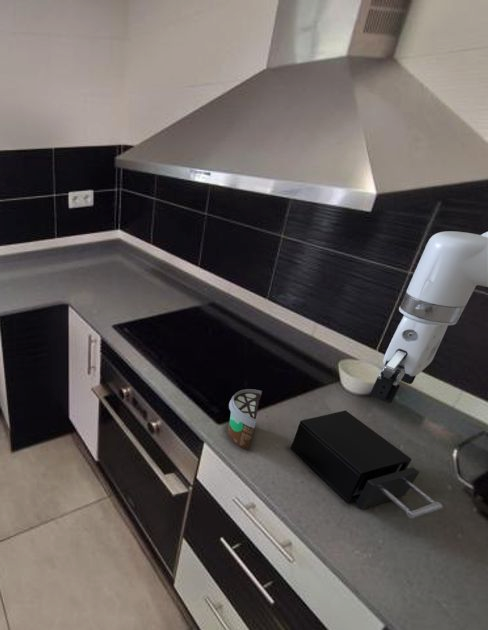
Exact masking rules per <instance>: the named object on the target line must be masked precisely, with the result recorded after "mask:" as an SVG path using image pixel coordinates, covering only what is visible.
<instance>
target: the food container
mask: <svg viewBox="0 0 488 630" xmlns="http://www.w3.org/2000/svg"><path fill="white" fill-rule="evenodd" d="M262 393H263V391H262V390H259V389H252V388H251V389H250V388H246V389H241V390H239V391H237V392H235V394H234V395H232V397H231V398H230V400H229V403H228V409H229V411H230V417H229V422H228V429H227V435H228V436H229V439H230V440H231V441H232V442H233V443H234V444H235V445H236V446H237V447H239V448H241V449H243V450H246V451H248V450H249V446H250V443H251V440H252V437H253V433H254V430H255V427H256V423H257V415H258V410H259V409H258V408H259V403H260V399H261V397H262Z"/></svg>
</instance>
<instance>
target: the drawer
mask: <svg viewBox="0 0 488 630" xmlns="http://www.w3.org/2000/svg"><path fill="white" fill-rule="evenodd" d="M401 466H402V464H401V465H397V466H394V467H390V468H387V469H383V470H380V471H376V472H372V473H369V474H365V475H363V477H362V479H361V481H360V483H359V485H358V487H357V489H356V490H355V492H354V494H353V496H355V495H359V494H360V496H359V498H358V500H356V501H355V505H356V506H357V508H359V509H360V510H363V509H366V508H370V507H372V506H376V505H379V504H383V503H385V502H386V503H387V502H389V501H392V502H393V503H395V505H396V506H398V507H399V508H400V509H401V510H403V511H404V512H405V513H406V516H407V517H408V518H409V519H412V520H413V519H416V518H419V517H421V516H425V515H428V514H431V513H434V512H438V511H440V510H443V508H444V506H443V504H442V503H441V502H439V501H435V500H434V499H432V498H431V497H430V496H428V495H427V494H426V493H425V492H424V491H422V490H421V489H420V488H418V487H417V486H416V485H414V482H415V480H416V479H417V477H418V475H419V473H420V471H419V470H418V469H416V468H415V467H413V466H412V467H409V468H406V469H405V470H402V471H399V470H400V468H401ZM410 489H412V490H413V492H415V493H416V494H417V495H419V496H420V497H421V498H423V499H424V500H425V501H427V502H428V503H429V504H426V505H423V506H419V507H416V508H413V509H410V508H409V507H407V506H406V504H404V503H403V502H402V501H400V500H399V499H400V498H402V497H405V496H406V495H407V494H408V492H409V490H410Z"/></svg>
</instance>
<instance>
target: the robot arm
mask: <svg viewBox="0 0 488 630" xmlns="http://www.w3.org/2000/svg"><path fill="white" fill-rule="evenodd" d="M477 286H481V287H485V288H488V231H486V232H484V233H482V234H477V233H472V232H465V231H464V232H463V231H452V230H450V231H447V230H445V231H440V232H437V233H434V234H433V235H432V236H431V237H430V238H429V239H428V242H427V243H426V245H425V248H424V250H423V252H422V254H421V256H420V259H419V262H418V263H417V266H416V268H415V270H414V273H413V275H412V278H411V280H410V281H409V284H408V287H407V289H406V291H405V293H404V295H403V298H402V300H401V302H400V305H399V307H398V311H399V312H400V313H401V314H402V315H403V316H402V318H401V319H400V322H399V324H398V325H397V327H396V329H395V332H394V334H393V336H392V338H391V340H390V343H389V344H388V347H387V349H386V351H385V354H384V356H383V358H382V364H383V366H384V367H383V368H382V370H381V371H380V373H379V374H378V376H377V377H376V380H375V382H374V384H373V386H372V389H371V390H370V396H372V397H374V398H375V399H378V400H380V401H382V402H385V403H387V404H391V403H393V401H394V398H395V397H396V395H397V393H398V390H399V389H400V387H401V384H400V382H403V383H405V384H409V385H412V384H413V383H414V381H415V379H416V377H417V376H419V374H421V372H423V371H424V370H425V369H426V368H427V367H428V366H429V365H430V364H431V363H432V362H433V360H434V358H435V356H436V353H437V351H438V349H439V347H440V345H441V343H442V340H443V338H444V336H445V334H446V331H447V330H448V326H454V325H456V324H457V323H458V321H459V319H460V317H462V316H461V315H462V313H463V312H464V310H465V308H466V306H467V304H468V302H469V300H470V298H471V297H472V295H473V293H474V291H475V289H476V287H477Z"/></svg>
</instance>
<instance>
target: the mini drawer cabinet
mask: <svg viewBox="0 0 488 630" xmlns="http://www.w3.org/2000/svg"><path fill="white" fill-rule="evenodd" d="M290 450H291V452H293V453H294V454H295V455H296V457H298V458H299V459H300V460H301V461H302V462H303V463H304V464H305V465H306V466H307V467H309V469H311V470H312V472H313V473H315V474H316V475H317V476H318V477H319V478H320V479H321V480H322V481H323V482H324V483H325V484H326V485H327V486H328V487H329V488H330V489H331V490H332V491H333V492H334V493H335V494H336V495H337V496H338V497H339V498H340V499H341V500H343V501H344V502H345V504H348V503H352V502H357V500H358V498H359V496H360V494H359V495H355V496H353V494H354V492H355V490H356V489H357V487H358V485H359V483H360V481H361V479H362V477H363V475H365V474H369V473H372V472H376V471H380V470H383V469H387V468H390V467H394V466H397V465H401V464H402V466H401V468H400V470H399V471H402V470H405V469H408V466H409V465H410V463H411V462H412V458H411V457H410V456H409V455H407V454H405V453H404V452H403V451H402V450H401V449H399V448H398V447H396V445H393V444H392V443H391V442H390V441H388V440H387V439H385V438H384V437H383V436H381V435H380V434H379V433H378V432H376V431H375V430H373V429H372V428H370V427H369V426H368V425H366V424H365V422H362V421H361V420H360V419H359V418H357V417H356V416H354V415H352V413H350V412H349V411H347V410H340V411H336V412H333V413H327V414H323V415H319V416H315V417H311V418H310V417H309V418H306V419H301V420H300V421H299V424H298V427H297V429H296V432H295V435H294V438H293V441H292V443H291V447H290Z"/></svg>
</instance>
